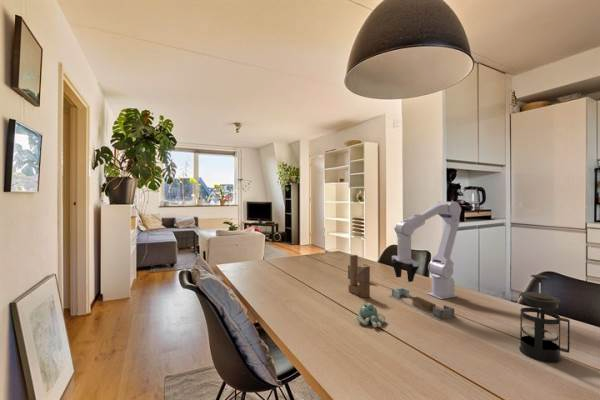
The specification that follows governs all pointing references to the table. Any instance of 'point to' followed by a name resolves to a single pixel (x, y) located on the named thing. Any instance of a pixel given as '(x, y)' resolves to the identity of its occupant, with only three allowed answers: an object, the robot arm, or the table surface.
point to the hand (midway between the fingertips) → (404, 279)
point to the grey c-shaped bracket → (443, 312)
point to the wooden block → (359, 278)
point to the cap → (400, 292)
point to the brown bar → (423, 304)
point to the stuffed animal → (370, 315)
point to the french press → (541, 327)
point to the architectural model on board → (358, 269)
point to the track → (418, 308)
